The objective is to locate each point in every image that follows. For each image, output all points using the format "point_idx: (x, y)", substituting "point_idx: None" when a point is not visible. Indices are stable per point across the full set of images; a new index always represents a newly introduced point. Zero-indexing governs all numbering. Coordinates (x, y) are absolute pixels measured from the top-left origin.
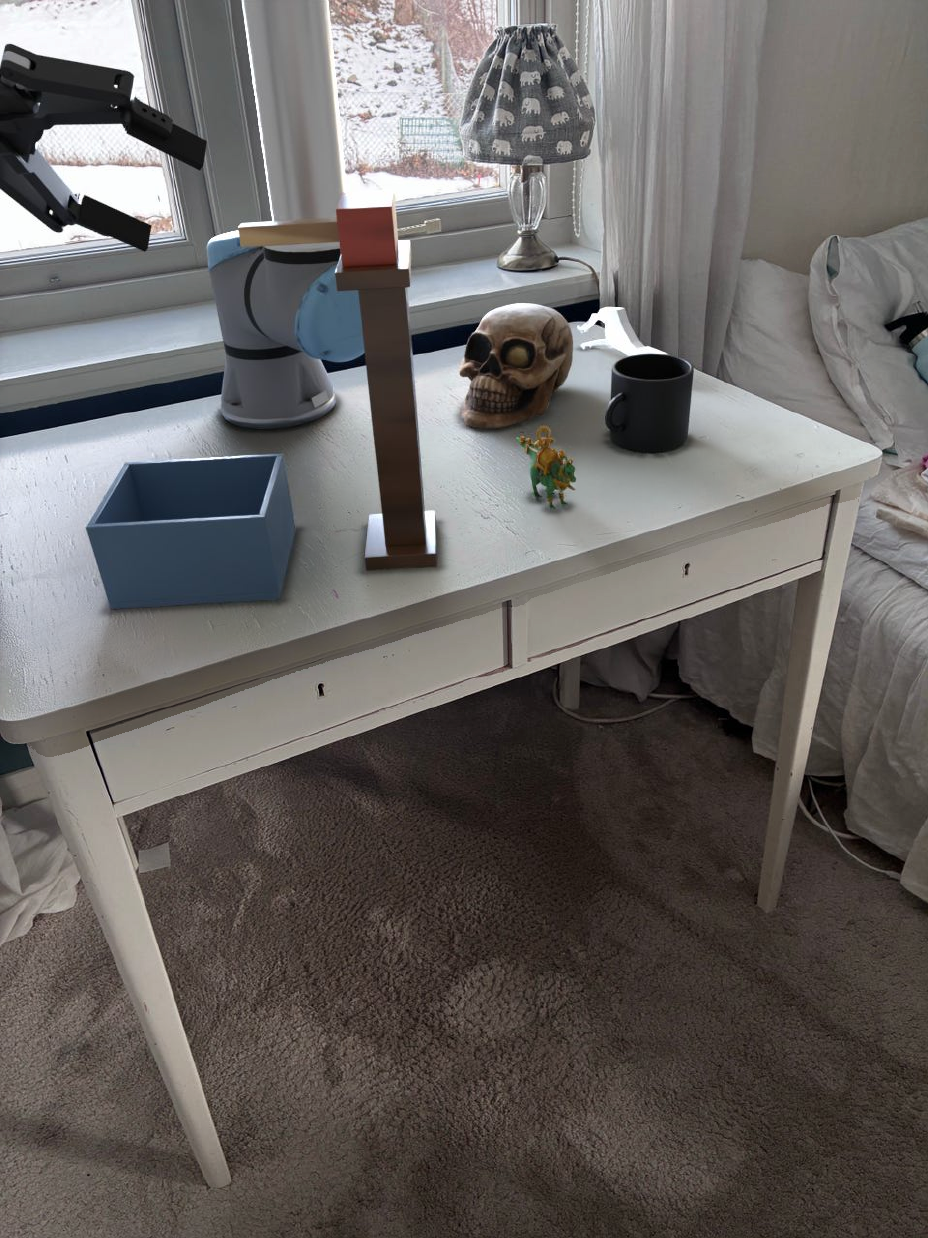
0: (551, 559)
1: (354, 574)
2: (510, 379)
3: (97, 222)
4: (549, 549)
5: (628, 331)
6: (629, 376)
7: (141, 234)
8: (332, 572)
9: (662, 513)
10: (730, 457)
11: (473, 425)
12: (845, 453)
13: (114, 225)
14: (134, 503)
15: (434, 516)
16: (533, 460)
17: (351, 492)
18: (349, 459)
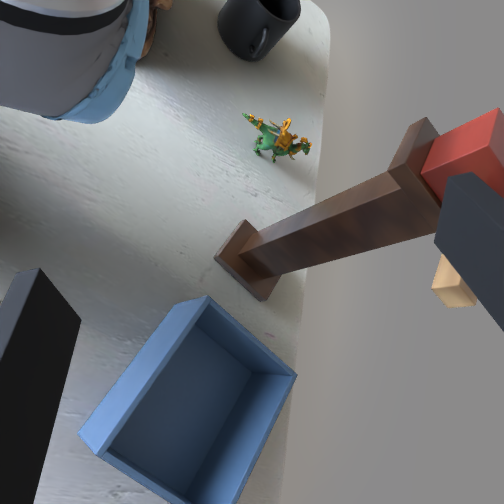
0: None
1: (258, 310)
2: (156, 5)
3: (33, 465)
4: (304, 204)
5: None
6: None
7: (58, 317)
8: (247, 320)
9: (312, 132)
10: (290, 46)
11: None
12: (321, 21)
13: (41, 399)
14: (110, 450)
15: (252, 226)
16: (269, 138)
17: (150, 226)
18: (85, 175)
